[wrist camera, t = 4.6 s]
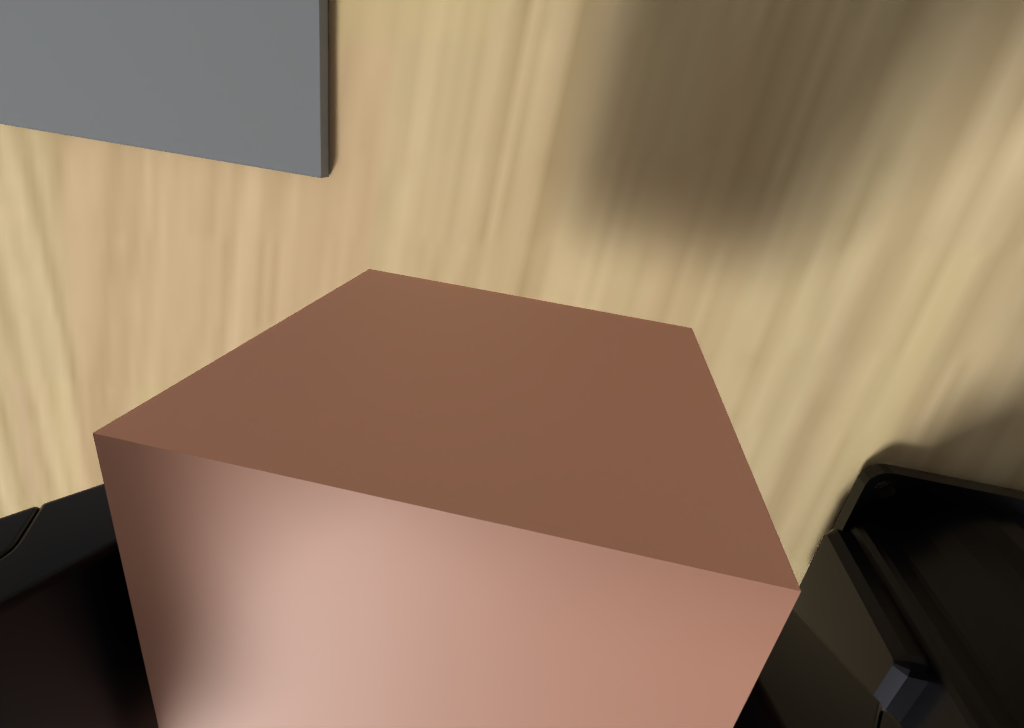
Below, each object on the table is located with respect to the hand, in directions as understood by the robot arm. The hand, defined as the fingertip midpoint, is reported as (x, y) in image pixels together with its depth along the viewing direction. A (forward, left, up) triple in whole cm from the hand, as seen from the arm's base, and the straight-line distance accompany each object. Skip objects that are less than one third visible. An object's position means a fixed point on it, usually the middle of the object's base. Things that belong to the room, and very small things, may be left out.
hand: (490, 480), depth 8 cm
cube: (0, 0, -1) cm, 1 cm away
